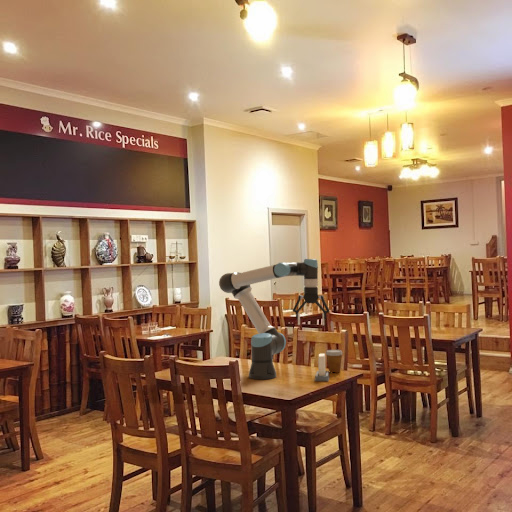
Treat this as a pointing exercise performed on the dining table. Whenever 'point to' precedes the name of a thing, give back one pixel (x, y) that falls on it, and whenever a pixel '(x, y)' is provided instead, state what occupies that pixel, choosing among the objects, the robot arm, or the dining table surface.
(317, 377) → the track
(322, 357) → the door panel
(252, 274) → the robot arm
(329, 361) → the disposable coffee cup
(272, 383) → the dining table surface
